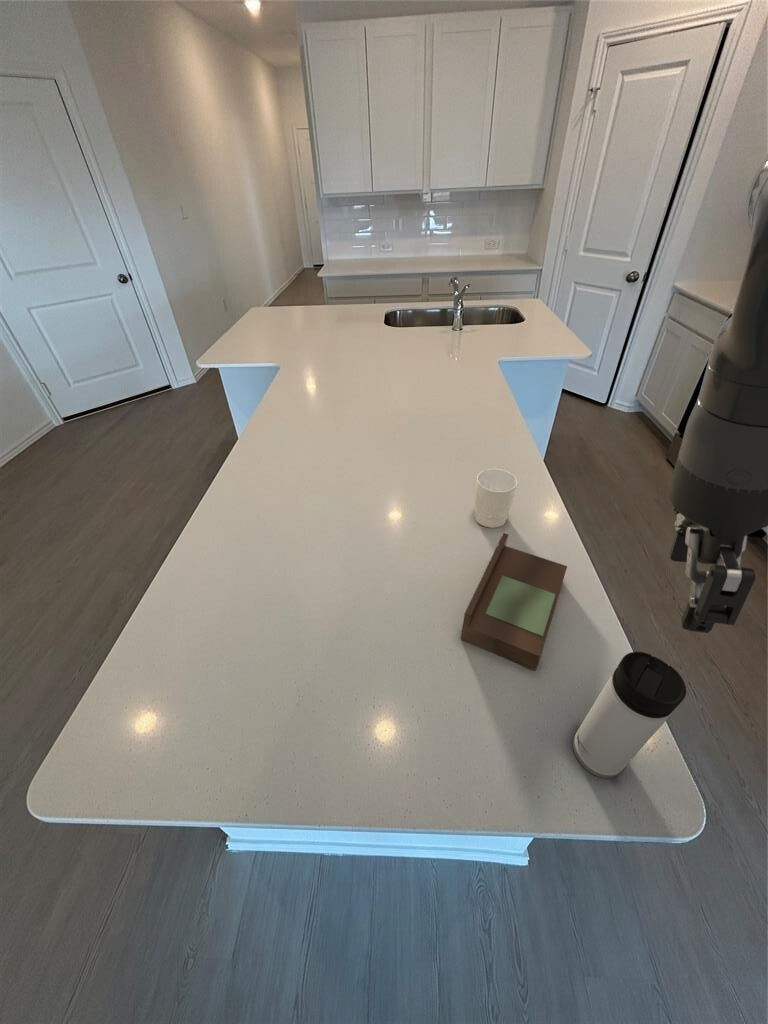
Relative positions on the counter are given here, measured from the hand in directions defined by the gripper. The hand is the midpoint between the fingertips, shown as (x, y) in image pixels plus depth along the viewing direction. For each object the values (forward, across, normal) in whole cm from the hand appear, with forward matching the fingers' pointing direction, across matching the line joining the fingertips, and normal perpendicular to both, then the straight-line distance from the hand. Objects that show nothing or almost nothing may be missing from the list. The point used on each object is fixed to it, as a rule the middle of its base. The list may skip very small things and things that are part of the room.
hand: (687, 591), depth 43 cm
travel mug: (+27, -7, +6) cm, 28 cm away
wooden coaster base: (+26, +14, +18) cm, 34 cm away
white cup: (+26, +36, +26) cm, 51 cm away
